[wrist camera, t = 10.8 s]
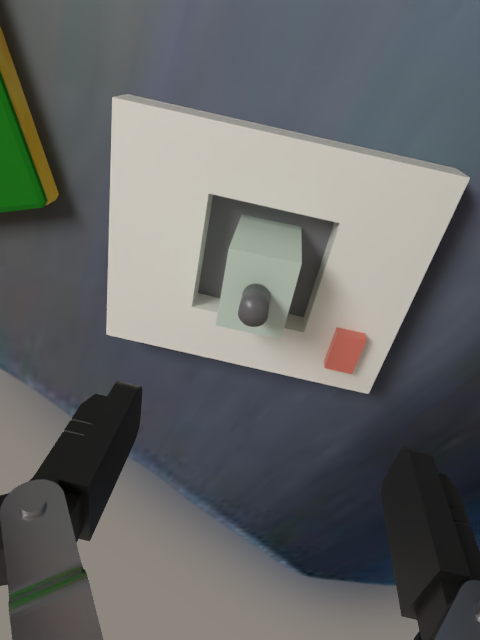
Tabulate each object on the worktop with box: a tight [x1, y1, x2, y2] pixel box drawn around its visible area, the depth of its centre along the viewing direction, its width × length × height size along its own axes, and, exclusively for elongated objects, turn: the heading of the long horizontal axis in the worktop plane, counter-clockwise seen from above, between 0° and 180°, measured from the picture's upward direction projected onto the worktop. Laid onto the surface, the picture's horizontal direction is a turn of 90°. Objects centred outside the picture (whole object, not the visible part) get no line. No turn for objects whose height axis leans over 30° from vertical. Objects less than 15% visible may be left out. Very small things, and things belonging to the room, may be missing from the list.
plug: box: [216, 215, 302, 339], centre depth 26 cm, size 4×5×8 cm
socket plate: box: [106, 94, 470, 394], centre depth 28 cm, size 20×16×3 cm
